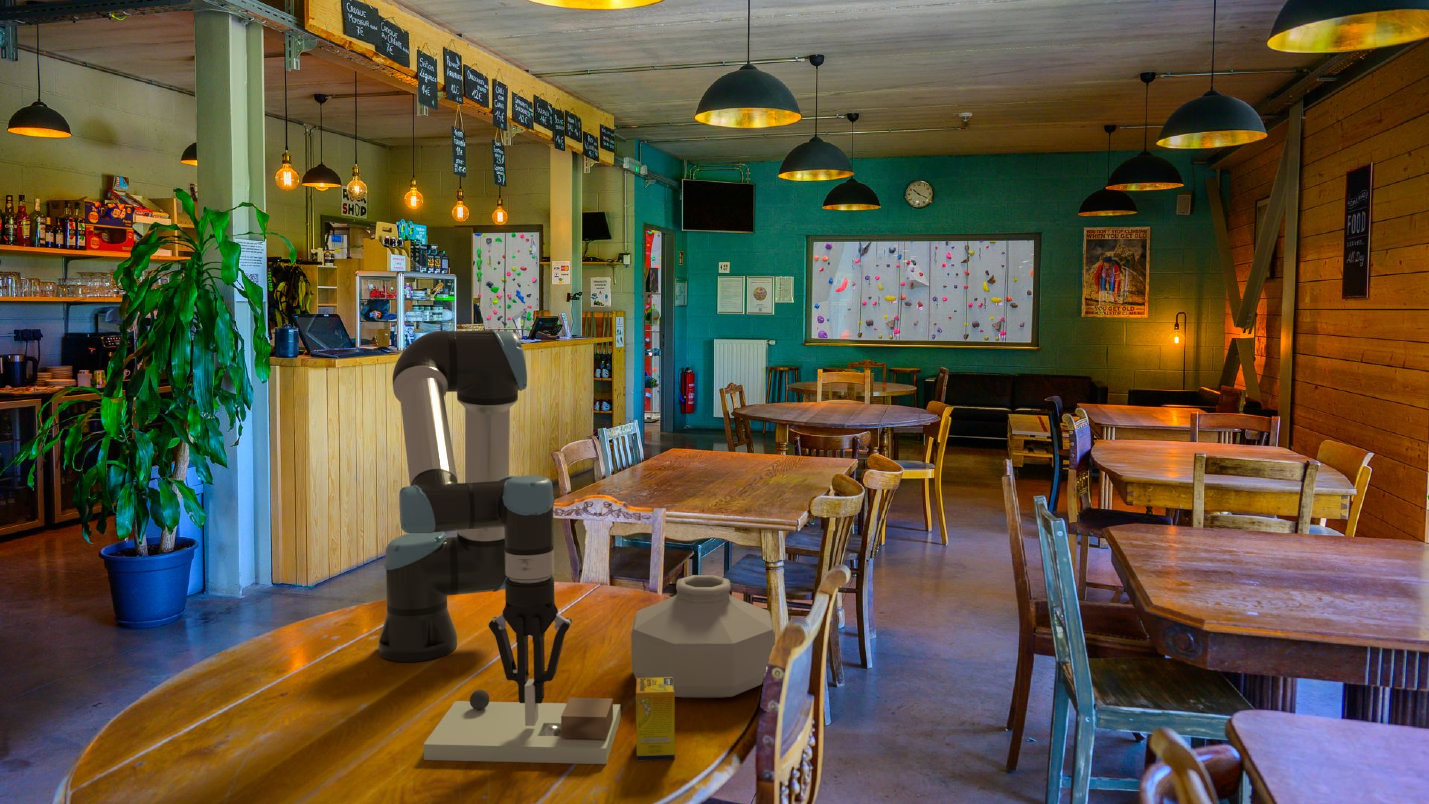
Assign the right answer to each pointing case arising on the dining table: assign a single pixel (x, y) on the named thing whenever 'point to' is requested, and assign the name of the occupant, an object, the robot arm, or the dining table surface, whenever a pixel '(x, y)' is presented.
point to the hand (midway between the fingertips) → (531, 721)
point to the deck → (512, 736)
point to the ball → (551, 731)
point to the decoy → (479, 699)
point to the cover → (587, 718)
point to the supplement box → (655, 718)
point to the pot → (703, 640)
